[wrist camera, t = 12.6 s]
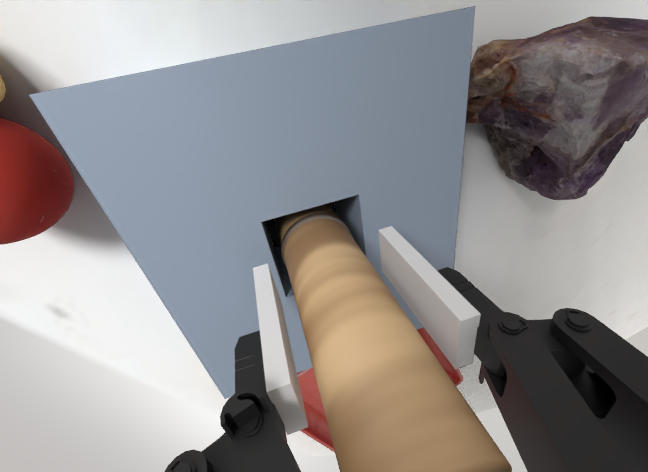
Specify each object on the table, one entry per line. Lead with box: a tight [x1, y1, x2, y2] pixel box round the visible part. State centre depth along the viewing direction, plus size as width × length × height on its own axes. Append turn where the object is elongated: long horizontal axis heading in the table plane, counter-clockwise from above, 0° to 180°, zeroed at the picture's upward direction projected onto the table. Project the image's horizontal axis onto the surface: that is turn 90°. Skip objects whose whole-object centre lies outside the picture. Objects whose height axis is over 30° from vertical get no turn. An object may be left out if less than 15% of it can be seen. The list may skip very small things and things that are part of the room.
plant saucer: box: [297, 327, 463, 452], centre depth 33 cm, size 18×18×3 cm
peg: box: [274, 203, 512, 472], centre depth 15 cm, size 4×4×18 cm
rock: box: [465, 17, 648, 200], centre depth 19 cm, size 12×9×10 cm
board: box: [29, 6, 475, 399], centre depth 20 cm, size 20×18×6 cm
